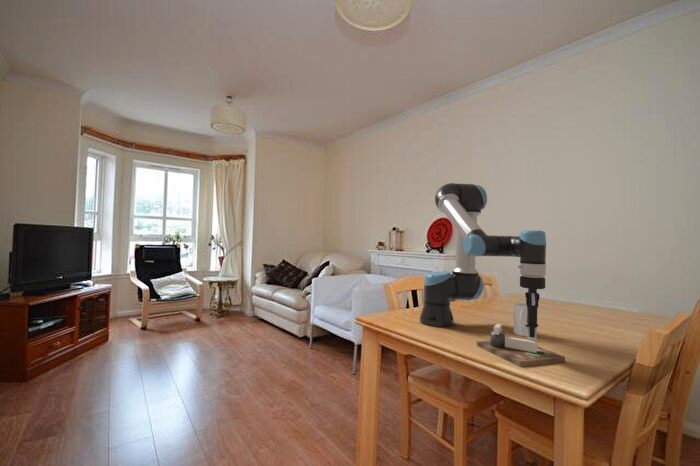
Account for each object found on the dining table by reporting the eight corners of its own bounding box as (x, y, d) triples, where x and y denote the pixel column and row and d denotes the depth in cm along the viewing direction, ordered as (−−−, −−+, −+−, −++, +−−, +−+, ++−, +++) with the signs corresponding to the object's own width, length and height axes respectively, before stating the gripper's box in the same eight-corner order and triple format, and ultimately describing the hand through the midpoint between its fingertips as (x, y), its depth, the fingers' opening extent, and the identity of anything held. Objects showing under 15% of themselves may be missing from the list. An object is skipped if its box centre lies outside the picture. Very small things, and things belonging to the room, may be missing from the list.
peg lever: (488, 346, 112) (489, 326, 112) (492, 342, 117) (492, 323, 117) (544, 356, 103) (544, 335, 103) (545, 351, 107) (545, 331, 107)
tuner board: (476, 345, 118) (476, 340, 118) (516, 342, 123) (516, 337, 123) (519, 366, 98) (519, 361, 98) (565, 361, 103) (565, 356, 103)
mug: (530, 339, 126) (530, 309, 126) (507, 334, 132) (507, 305, 132) (539, 334, 134) (539, 305, 135) (517, 329, 141) (517, 302, 141)
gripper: (519, 273, 116) (518, 339, 116) (520, 277, 105) (519, 350, 104) (543, 274, 113) (542, 342, 113) (547, 279, 101) (546, 354, 101)
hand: (531, 346), depth 109 cm, fingers closed
